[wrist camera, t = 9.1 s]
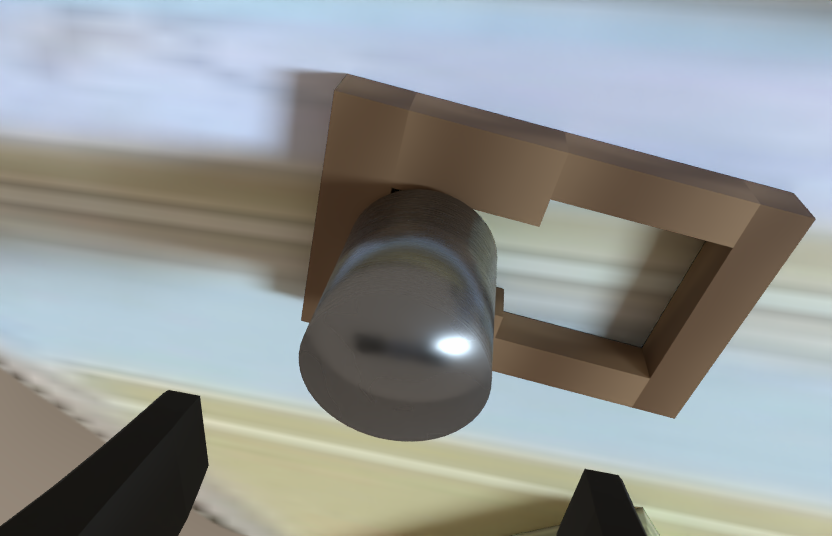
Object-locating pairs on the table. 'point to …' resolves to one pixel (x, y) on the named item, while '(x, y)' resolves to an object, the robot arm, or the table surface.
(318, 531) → the table surface
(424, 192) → the peg
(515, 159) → the keyhole plate
